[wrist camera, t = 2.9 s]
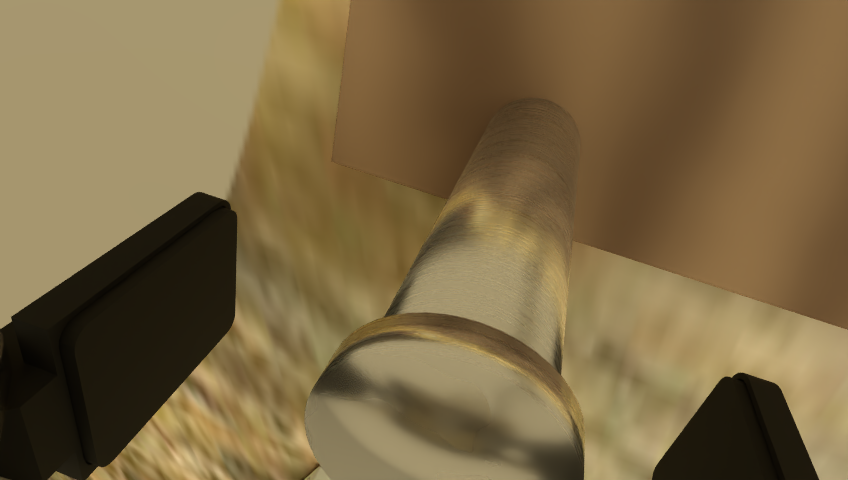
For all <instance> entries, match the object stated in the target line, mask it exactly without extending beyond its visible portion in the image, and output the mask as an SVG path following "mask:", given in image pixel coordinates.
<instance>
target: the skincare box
mask: <svg viewBox="0 0 848 480" xmlns="http://www.w3.org/2000/svg"><path fill="white" fill-rule="evenodd" d="M304 480H331V479H330V478H329V477H328V475H327V474H326V473H325V472H324V470H323V469H322V467H321V466H319V467H318V468H317V469H315V470H314V471H313V472H312V473H311V474H310V475H309V476H308V477H307V478H305V479H304Z"/></svg>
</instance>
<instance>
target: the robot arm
mask: <svg viewBox="0 0 848 480" xmlns="http://www.w3.org/2000/svg"><path fill="white" fill-rule="evenodd" d="M236 250H237V214H236V212H234V211H232V210H231V206H230V204H229V202H227V201H226V200H223V199H220V198H217V197H214V196H211V195H208V194H205V193H202V192H197V193H195V194H193V195H191V196H190V197H188V198H187V199H185V200H184V201H182V202H181V203H180V204H178V205H176V206H175V207H174V208H172V209H171V210H169V211H168V212H166V213H165V214H163V215H162V216H160V217H159V218H157V219H156V220H154V221H153V222H151V223H150V224H148V225H147V226H145V227H144V228H142V229H141V230H139V231H138V232H136V233H135V234H133V235H132V236H130V237H129V238H127V239H126V240H125V241H123V242H122V243H120V244H119V245H117V246H116V247H114V248H113V249H111V250H110V251H108V252H107V253H105V254H104V255H102V256H101V257H99V258H98V259H96V260H95V261H93V262H92V263H90V264H89V265H87V266H86V267H85V268H83V269H82V270H80V271H78V272H77V273H76V274H74V275H73V276H71V277H70V278H68V279H67V280H65V281H64V282H62V283H61V284H59V285H58V286H56V287H55V288H53V289H52V290H50V291H49V292H47V293H46V294H44V295H43V296H41V297H40V298H39V299H37V300H35V301H34V302H32V303H31V304H30V305H28V306H27V307H25V308H24V309H22V310H21V311H19V312H18V313H16V314H15V315H13V316H12V317H11V318H12V322H11V323H9V324H8V325H6V326H5V327H3V328H2V329H0V480H48V479H49V477H50V476H51V475H52V474H53V473H54V472H55V471H57V472H59V473H62V474H64V475H67V476H69V477H72V478H74V479H77V480H86V479H87V478H88V477H89V476H90V474H91V473H92V472H93V471H94V470H95V469H96V468H97V467H98V466H99V467H105V466H107V465H108V464H110V463H111V462H112V461H113V460H114V459H115V458H116V457H117V456H118V455H119V453H120V452H121V451H122V450H123V449H124V448H125V447H126V446H127V444H128V443H129V442H130V441H131V440H132V439H133V438H134V437H135V435H136V434H137V433H138V432H139V431H140V430H141V429H142V428H143V427H144V425H145V424H146V423H147V422H148V421H149V420H150V419H151V418H152V416H153V415H154V414H155V413H156V412H157V411H158V410H159V409H160V407H161V406H162V405H163V404H164V403H165V402H166V401H167V400H168V398H169V397H170V396H171V395H172V394H173V393H174V392H175V391H176V389H177V388H178V387H179V386H180V385H181V384H182V383H183V382H184V380H185V379H186V378H187V377H188V376H189V375H190V374H191V373H192V371H193V370H194V369H195V368H196V367H197V366H198V365H199V364H200V363H201V361H202V360H203V359H204V358H205V357H206V356H207V355H208V354H209V352H210V351H211V350H212V349H213V348H214V347H215V346H216V345H217V343H218V342H219V341H220V340H221V339H222V338H223V337H224V336H225V334H226V333H227V332H228V331H229V329H230V328H231V326H232V324H233V321H234V318H235V297H236ZM652 480H819V478H818V476H817V473H816V471H815V469H814V466H813V464H812V462H811V459H810V457H809V455H808V452H807V450H806V447H805V445H804V443H803V440H802V438H801V436H800V433H799V431H798V429H797V426H796V424H795V422H794V419H793V417H792V414H791V412H790V410H789V407H788V405H787V403H786V400H785V398H784V396H783V393H782V391H781V389H780V388H779V386H778V385H776V384H775V383H772V382H769V381H766V380H763V379H760V378H757V377H754V376H751V375H748V374H745V373H737V374H735V375H734V376H733V377H732V378H731V377H724V378H722V379H721V380H720V381H719V383H718V384H717V385H716V387H715V388H714V389H713V391H712V392H711V393H710V395H709V396H708V397H707V399H706V400H705V401H704V403H703V404H702V405H701V407H700V408H699V409H698V411H697V412H696V413H695V415H694V416H693V417H692V419H691V420H690V421H689V423H688V424H687V425H686V427H685V428H684V429H683V431H682V432H681V433H680V435H679V436H678V437H677V439H676V440H675V441H674V443H673V444H672V445H671V447H670V448H669V449H668V451H667V452H666V453H665V455H664V456H663V457H662V459H661V460H660V461H659V463H658V464H657V466H656V467H655V470H654V472H653V477H652Z"/></svg>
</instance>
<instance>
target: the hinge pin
mask: <svg viewBox="0 0 848 480" xmlns="http://www.w3.org/2000/svg"><path fill="white" fill-rule="evenodd" d="M579 156H580V134H579V130H578V127H577V125H576V123H575V121H574V119H573V118H572V117H571V115H570V114H569V113H568V112H567V111H566V110H565V109H564V108H562V107H561V106H559V105H558V104H556V103H554V102H552V101H549V100H546V99H542V98H524V99H519V100H516V101H513V102H511V103H509V104H507V105H506V106H504V107H503V108H501V109H500V110H499V111H498V112H497V113H496V114H495V115H494V117H493V118H492V119H491V121H490V123H489V125H488V126H487V128H486V130H485V132H484V134H483V136H482V138H481V139H480V141H479V143H478V145H477V147H476V149H475V150H474V152H473V154H472V156H471V158H470V160H469V162H468V163H467V165H466V167H465V169H464V171H463V173H462V174H461V176H460V178H459V180H458V182H457V184H456V185H455V187H454V189H453V191H452V193H451V195H450V197H449V198H448V200H447V202H446V204H445V206H444V208H443V209H442V211H441V213H440V215H439V217H438V219H437V221H436V222H435V224H434V226H433V228H432V230H431V232H430V233H429V235H428V237H427V239H426V241H425V243H424V245H423V246H422V248H421V250H420V252H419V254H418V256H417V257H416V259H415V261H414V263H413V265H412V267H411V268H410V270H409V272H408V274H407V276H406V278H405V280H404V281H403V283H402V285H401V287H400V289H399V291H398V292H397V294H396V296H395V298H394V300H393V302H392V304H391V305H390V307H389V309H388V311H387V313H386V315H385V316H384V318H381V319H377V320H375V321H372V322H370V323H368V324H366V325H363V326H362V327H360V328H359V329H357V330H356V331H354V332H353V333H351V334H350V335H349V336H348V337H347V338H346V339H345V340H344V341H343V342H342V343H341V345H340V346H339V347H338V349H337V350H336V352H335V353H334V355H333V356H332V358H331V360H330V361H329V363H328V365H327V366H326V368H325V370H324V371H323V373H322V374H321V376H320V378H319V379H318V381H317V383H316V384H315V386H314V388H313V389H312V391H311V393H310V396H309V398H308V400H307V404H306V409H305V429H306V435H307V438H308V441H309V445H310V447H311V449H312V451H313V454H314V456H315V458H316V459H317V461H318V463H319V464H320V466H321V467H322V469H323V470H324V472H325V473H326V474H327V475H328V477H329V478H330V479H331V480H584V451H585V427H584V420H583V415H582V412H581V409H580V406H579V403H578V401H577V399H576V398H575V396H574V394H573V392H572V390H571V388H570V387H569V386H568V384H567V383H566V381H565V380H564V379H563V377H562V376H561V370H562V358H563V346H564V334H565V323H566V311H567V299H568V287H569V275H570V263H571V251H572V239H573V227H574V216H575V204H576V192H577V180H578V168H579Z"/></svg>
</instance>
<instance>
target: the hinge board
mask: <svg viewBox="0 0 848 480" xmlns="http://www.w3.org/2000/svg"><path fill="white" fill-rule="evenodd" d="M524 98H542V99H546V100H549V101H552V102H554V103H556V104H558V105H559V106H561V107H562V108H564V109H565V110H566V111H567V112H568V113H569V114H570V115H571V117H572V118H573V119H574V121H575V123H576V125H577V127H578V130H579V134H580V156H579V168H578V180H577V192H576V204H575V216H574V227H573V239H572V240H574V241H577V242H580V243H583V244H586V245H589V246H592V247H595V248H598V249H601V250H604V251H608V252H611V253H614V254H617V255H620V256H623V257H626V258H629V259H632V260H635V261H638V262H641V263H644V264H648V265H651V266H654V267H657V268H660V269H663V270H666V271H669V272H672V273H675V274H678V275H681V276H684V277H687V278H691V279H694V280H697V281H700V282H703V283H706V284H709V285H712V286H715V287H718V288H721V289H724V290H727V291H731V292H734V293H737V294H740V295H743V296H746V297H749V298H752V299H755V300H758V301H761V302H764V303H767V304H770V305H774V306H777V307H780V308H783V309H786V310H789V311H792V312H795V313H798V314H801V315H804V316H807V317H810V318H814V319H817V320H820V321H823V322H826V323H829V324H832V325H835V326H838V327H841V328H844V329H847V330H848V0H351V3H350V12H349V20H348V28H347V37H346V45H345V54H344V62H343V70H342V79H341V87H340V95H339V104H338V112H337V120H336V129H335V137H334V146H333V154H332V162H334V163H337V164H340V165H343V166H346V167H349V168H352V169H355V170H359V171H362V172H365V173H368V174H371V175H374V176H377V177H380V178H383V179H386V180H389V181H392V182H395V183H398V184H402V185H405V186H408V187H411V188H414V189H417V190H420V191H423V192H426V193H429V194H432V195H435V196H438V197H442V198H445V199H448V198H449V197H450V195H451V193H452V191H453V189H454V187H455V185H456V184H457V182H458V180H459V178H460V176H461V174H462V173H463V171H464V169H465V167H466V165H467V163H468V162H469V160H470V158H471V156H472V154H473V152H474V150H475V149H476V147H477V145H478V143H479V141H480V139H481V138H482V136H483V134H484V132H485V130H486V128H487V126H488V125H489V123H490V121H491V119H492V118H493V117H494V115H495V114H496V113H497V112H498V111H499V110H500V109H501V108H503V107H504V106H506V105H507V104H509V103H511V102H513V101H516V100H519V99H524Z"/></svg>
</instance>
